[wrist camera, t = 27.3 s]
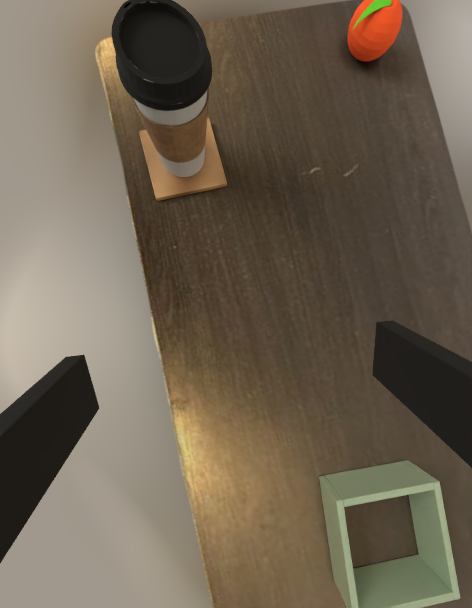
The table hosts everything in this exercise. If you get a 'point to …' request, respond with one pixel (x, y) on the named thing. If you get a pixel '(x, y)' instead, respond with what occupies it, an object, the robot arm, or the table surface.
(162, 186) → the trivet
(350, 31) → the clementine
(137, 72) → the coffee cup
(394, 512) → the table surface
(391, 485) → the holder
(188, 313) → the table surface
